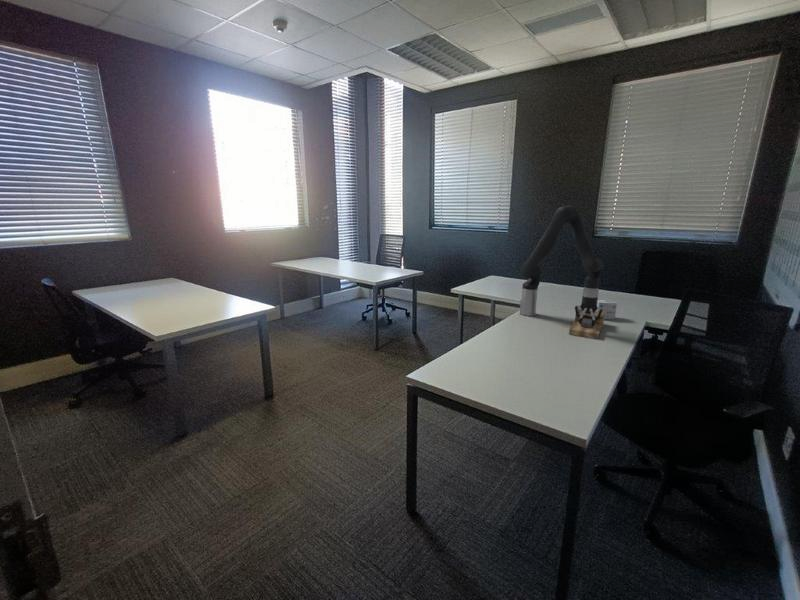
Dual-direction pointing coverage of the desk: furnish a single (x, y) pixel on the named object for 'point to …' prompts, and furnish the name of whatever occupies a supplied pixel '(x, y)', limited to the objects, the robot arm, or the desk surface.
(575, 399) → the desk surface
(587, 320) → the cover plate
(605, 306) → the light bulb box
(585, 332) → the wooden box
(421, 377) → the desk surface
